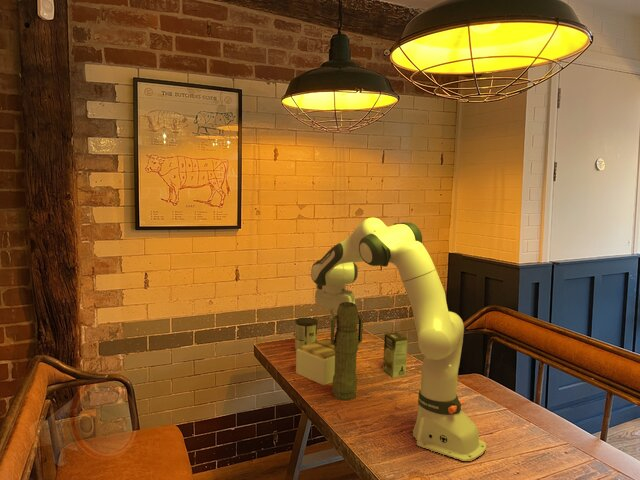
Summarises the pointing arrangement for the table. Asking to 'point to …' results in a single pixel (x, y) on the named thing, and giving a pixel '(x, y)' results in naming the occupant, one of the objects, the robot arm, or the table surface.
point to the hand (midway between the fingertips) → (334, 319)
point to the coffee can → (305, 331)
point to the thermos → (346, 350)
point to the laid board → (318, 350)
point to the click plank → (326, 343)
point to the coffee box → (395, 354)
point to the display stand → (315, 367)
